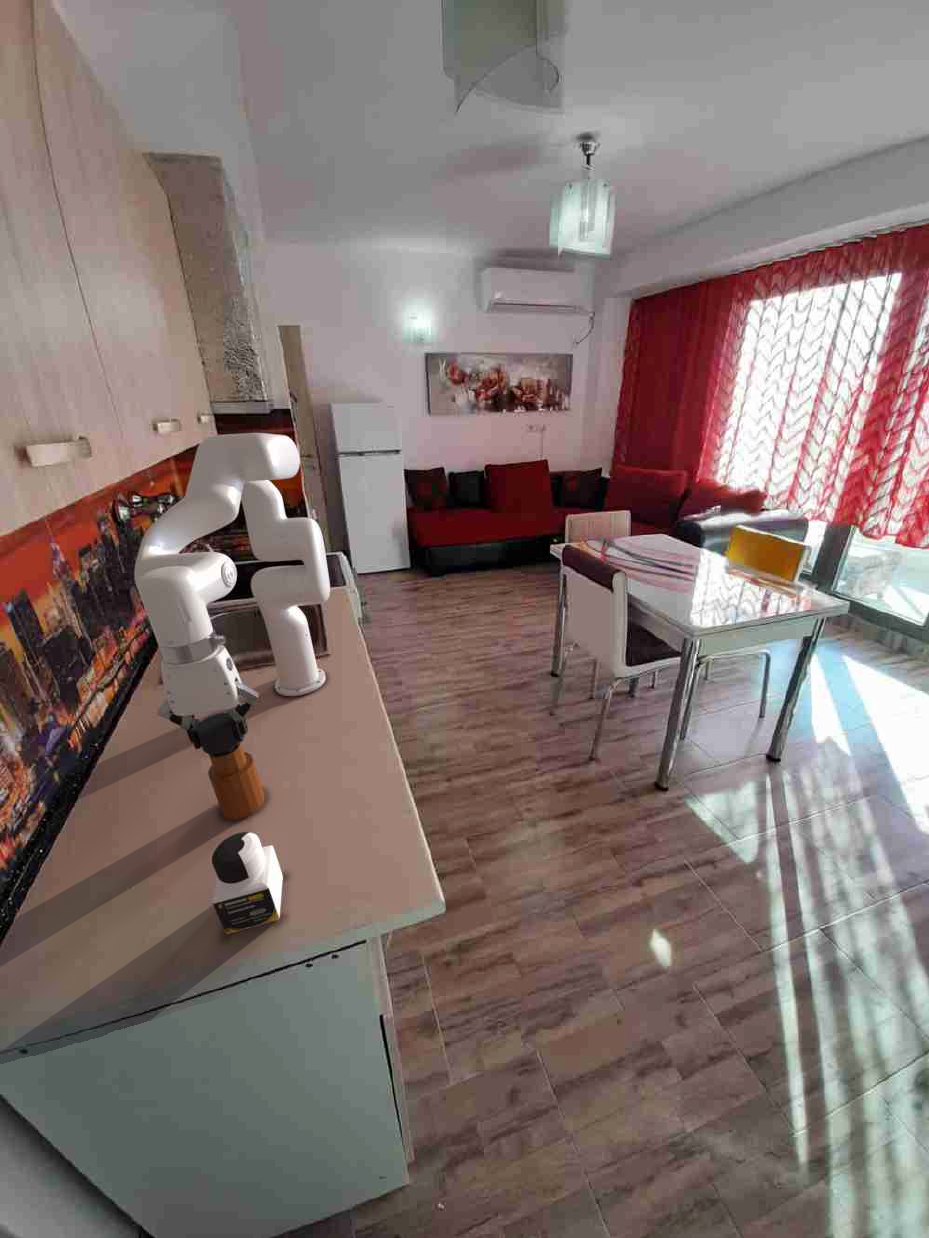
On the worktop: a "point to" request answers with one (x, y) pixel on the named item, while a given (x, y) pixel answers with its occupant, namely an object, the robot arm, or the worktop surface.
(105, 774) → the worktop surface
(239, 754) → the amber bottle
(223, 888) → the medicine bottle
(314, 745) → the worktop surface
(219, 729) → the stopper
